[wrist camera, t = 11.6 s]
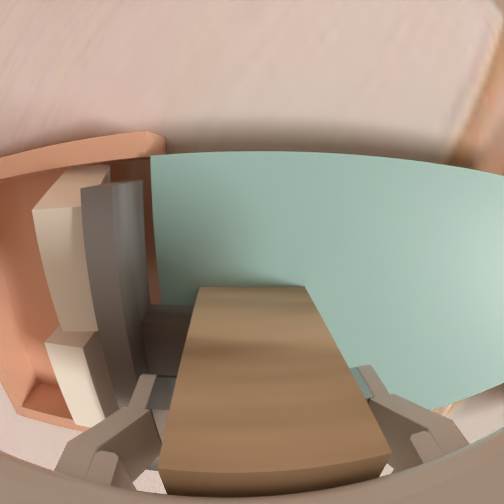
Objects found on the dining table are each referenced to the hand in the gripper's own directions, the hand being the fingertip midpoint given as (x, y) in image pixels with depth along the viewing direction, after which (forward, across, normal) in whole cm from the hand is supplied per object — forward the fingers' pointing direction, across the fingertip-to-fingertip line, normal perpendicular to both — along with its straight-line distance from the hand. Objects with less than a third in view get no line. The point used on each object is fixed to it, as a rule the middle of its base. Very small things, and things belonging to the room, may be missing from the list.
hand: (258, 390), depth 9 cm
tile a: (+4, -7, -2) cm, 8 cm away
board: (+8, +14, 0) cm, 15 cm away
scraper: (+3, -2, 0) cm, 4 cm away
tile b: (+4, -6, +4) cm, 8 cm away
